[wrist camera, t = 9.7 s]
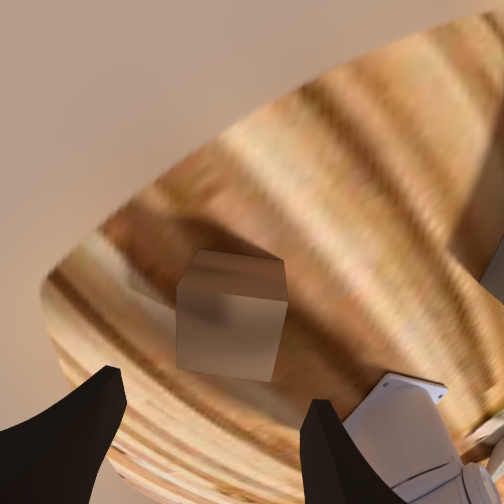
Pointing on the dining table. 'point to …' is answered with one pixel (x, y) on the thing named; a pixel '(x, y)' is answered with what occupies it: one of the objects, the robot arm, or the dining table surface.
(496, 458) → the spoon rest
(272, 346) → the walnut cube
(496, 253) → the grey tote
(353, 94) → the dining table surface
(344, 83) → the dining table surface
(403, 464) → the robot arm
